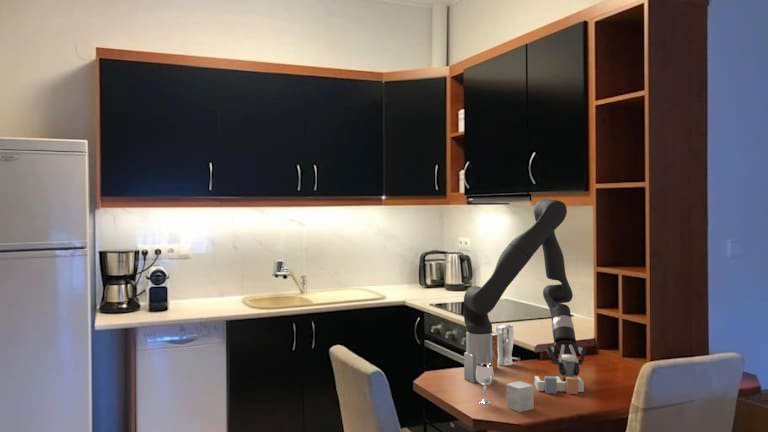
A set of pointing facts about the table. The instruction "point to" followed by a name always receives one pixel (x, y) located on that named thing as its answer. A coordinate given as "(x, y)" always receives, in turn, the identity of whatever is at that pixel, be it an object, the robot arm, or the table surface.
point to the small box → (494, 350)
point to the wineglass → (484, 378)
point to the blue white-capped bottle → (568, 365)
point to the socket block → (559, 384)
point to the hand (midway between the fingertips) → (569, 374)
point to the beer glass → (505, 344)
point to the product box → (520, 396)
